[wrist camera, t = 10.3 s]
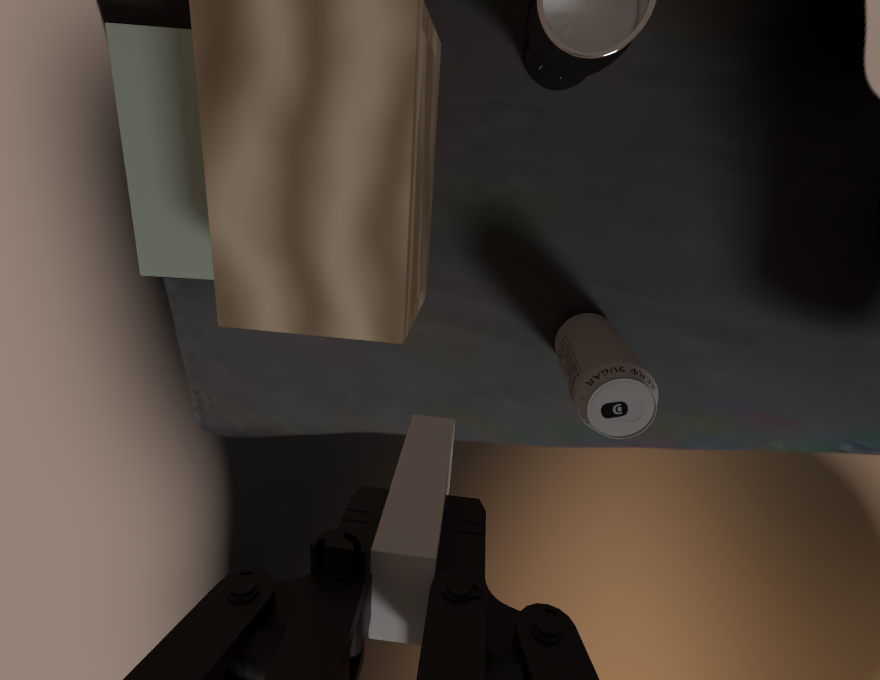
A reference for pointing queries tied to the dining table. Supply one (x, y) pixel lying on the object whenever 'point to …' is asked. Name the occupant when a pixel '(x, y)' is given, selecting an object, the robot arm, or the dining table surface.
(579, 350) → the energy drink can
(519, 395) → the dining table surface
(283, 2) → the cabinet
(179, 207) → the door
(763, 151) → the dining table surface
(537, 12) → the beer glass
